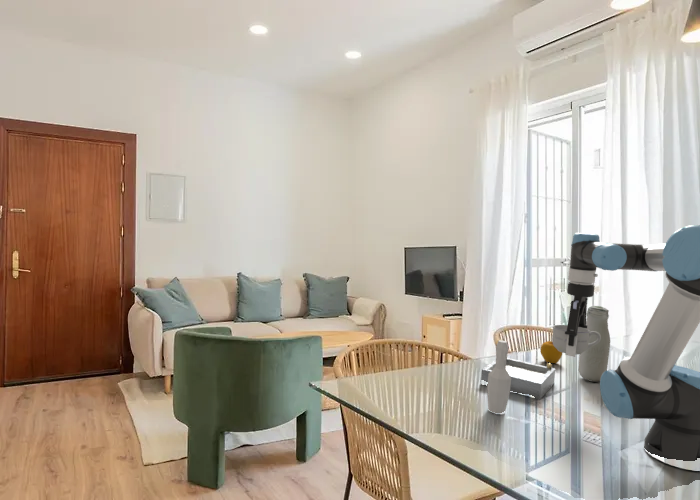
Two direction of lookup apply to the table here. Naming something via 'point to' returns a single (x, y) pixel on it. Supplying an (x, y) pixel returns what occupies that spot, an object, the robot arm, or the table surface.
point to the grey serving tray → (526, 377)
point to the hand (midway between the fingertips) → (574, 351)
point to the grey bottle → (596, 356)
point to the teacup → (582, 338)
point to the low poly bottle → (499, 381)
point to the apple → (550, 352)
